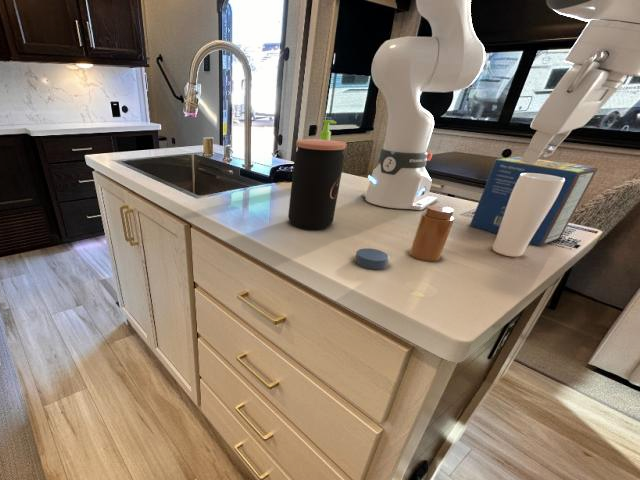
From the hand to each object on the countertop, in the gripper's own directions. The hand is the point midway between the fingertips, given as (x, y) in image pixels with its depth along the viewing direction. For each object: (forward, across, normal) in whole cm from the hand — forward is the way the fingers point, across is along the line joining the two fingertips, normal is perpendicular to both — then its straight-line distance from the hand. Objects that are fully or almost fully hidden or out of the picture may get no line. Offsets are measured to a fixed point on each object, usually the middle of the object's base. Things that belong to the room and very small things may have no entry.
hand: (535, 158), depth 54 cm
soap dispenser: (+32, +26, +55) cm, 69 cm away
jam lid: (+20, -18, +10) cm, 28 cm away
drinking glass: (+19, +10, -5) cm, 21 cm away
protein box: (+20, +26, -2) cm, 32 cm away
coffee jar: (+26, -9, +31) cm, 41 cm away
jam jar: (+20, -6, +5) cm, 22 cm away
